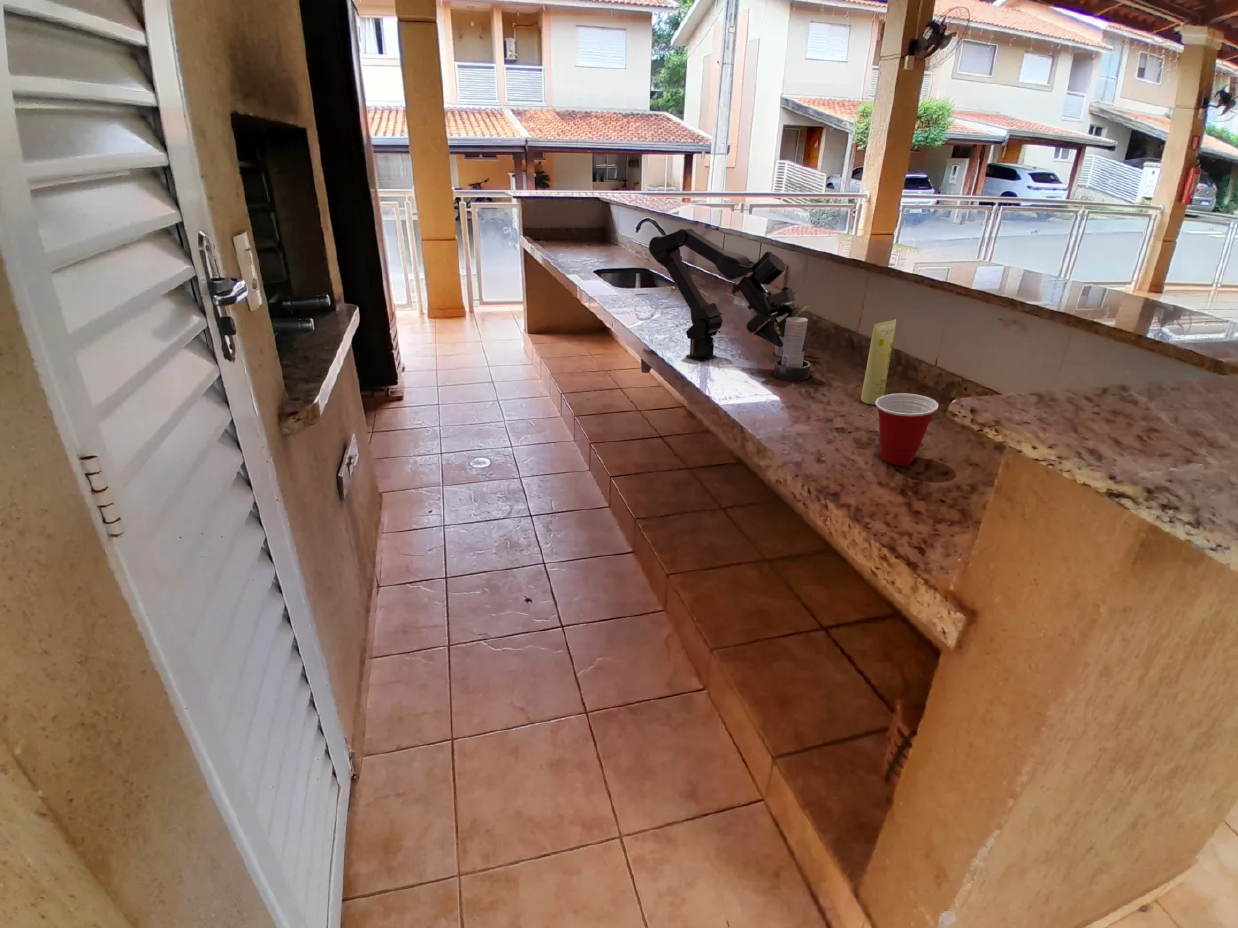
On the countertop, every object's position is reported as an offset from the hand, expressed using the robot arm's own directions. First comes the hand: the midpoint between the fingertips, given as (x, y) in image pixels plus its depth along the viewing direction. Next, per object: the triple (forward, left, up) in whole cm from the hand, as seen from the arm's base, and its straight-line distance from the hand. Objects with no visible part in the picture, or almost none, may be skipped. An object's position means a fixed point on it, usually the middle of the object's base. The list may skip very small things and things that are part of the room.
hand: (789, 342), depth 165 cm
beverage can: (+1, 0, -9) cm, 9 cm away
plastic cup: (+46, -31, -9) cm, 56 cm away
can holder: (+2, 0, -9) cm, 9 cm away
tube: (+27, -4, -9) cm, 28 cm away
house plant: (-12, +15, -9) cm, 22 cm away
